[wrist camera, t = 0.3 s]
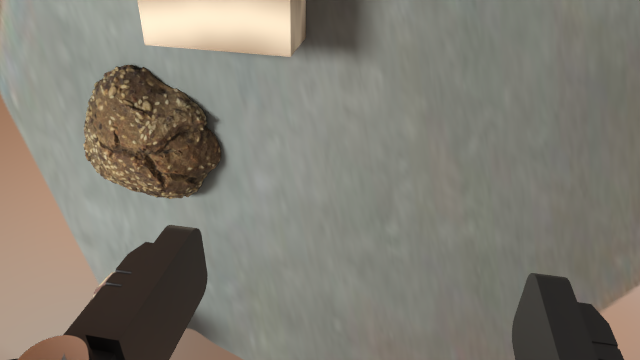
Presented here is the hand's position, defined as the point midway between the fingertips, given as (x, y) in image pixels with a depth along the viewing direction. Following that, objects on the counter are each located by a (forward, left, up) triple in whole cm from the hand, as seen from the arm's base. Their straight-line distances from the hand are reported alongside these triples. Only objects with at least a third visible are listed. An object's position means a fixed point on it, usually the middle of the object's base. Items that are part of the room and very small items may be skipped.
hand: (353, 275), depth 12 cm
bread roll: (+13, -22, -29) cm, 38 cm away
